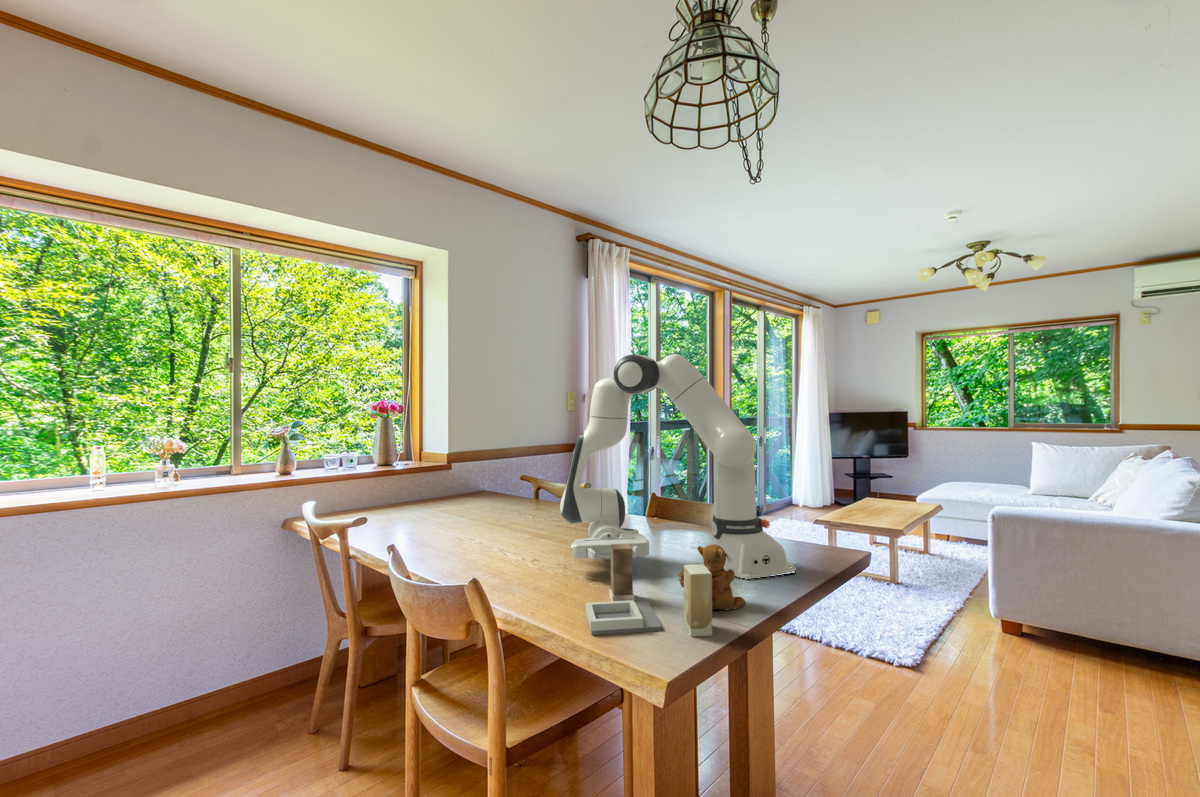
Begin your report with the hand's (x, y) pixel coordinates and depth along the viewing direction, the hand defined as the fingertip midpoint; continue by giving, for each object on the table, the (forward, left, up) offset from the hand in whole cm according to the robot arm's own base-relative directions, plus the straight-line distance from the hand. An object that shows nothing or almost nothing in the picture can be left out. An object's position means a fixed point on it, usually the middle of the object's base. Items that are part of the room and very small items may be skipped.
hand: (614, 555), depth 136 cm
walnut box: (0, +11, -7) cm, 13 cm away
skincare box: (-12, +31, -7) cm, 34 cm away
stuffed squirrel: (-19, +19, -7) cm, 27 cm away
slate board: (+2, +23, -7) cm, 24 cm away
